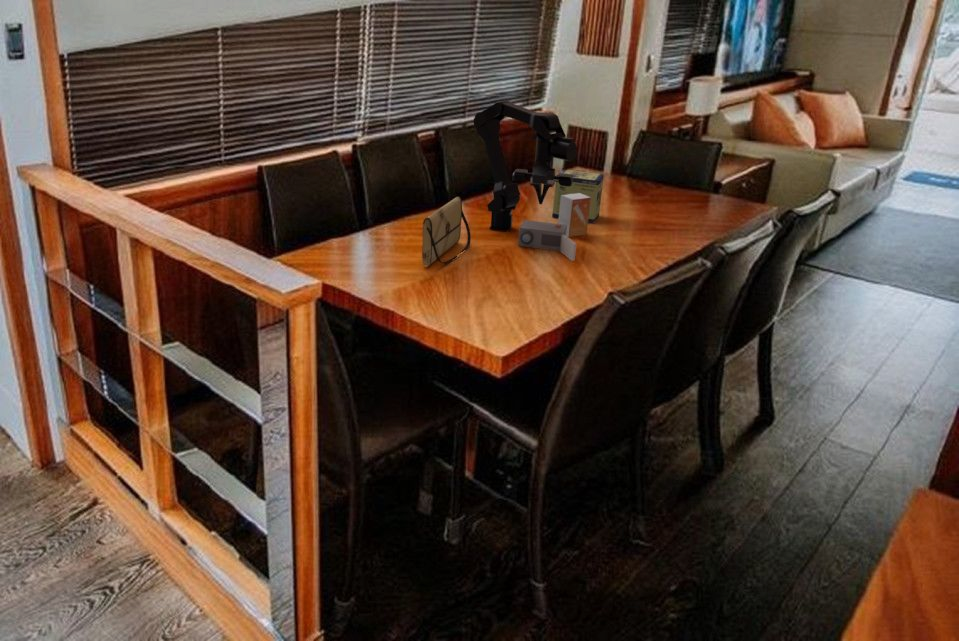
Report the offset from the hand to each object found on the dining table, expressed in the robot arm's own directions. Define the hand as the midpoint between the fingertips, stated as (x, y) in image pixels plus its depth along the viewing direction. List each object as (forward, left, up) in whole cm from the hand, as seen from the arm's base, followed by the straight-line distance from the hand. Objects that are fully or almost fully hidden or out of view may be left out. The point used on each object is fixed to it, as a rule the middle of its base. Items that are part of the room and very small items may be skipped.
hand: (540, 204), depth 253 cm
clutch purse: (-24, -25, -12) cm, 36 cm away
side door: (+11, -13, -12) cm, 21 cm away
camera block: (+2, -4, -12) cm, 13 cm away
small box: (+10, +11, -12) cm, 19 cm away
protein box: (+9, +32, -12) cm, 35 cm away
